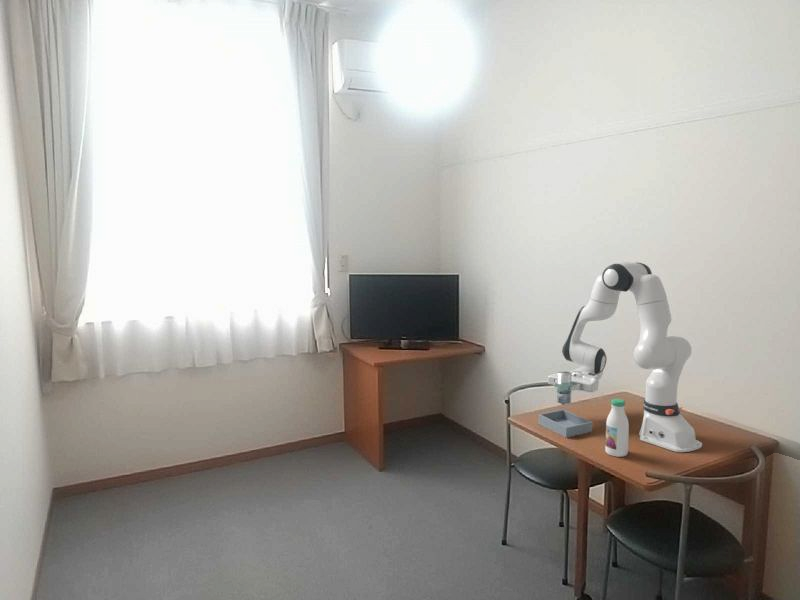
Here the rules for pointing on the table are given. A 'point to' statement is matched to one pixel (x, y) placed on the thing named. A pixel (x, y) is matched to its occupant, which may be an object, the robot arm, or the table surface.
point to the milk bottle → (617, 430)
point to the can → (564, 387)
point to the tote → (565, 423)
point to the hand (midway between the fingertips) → (563, 386)
